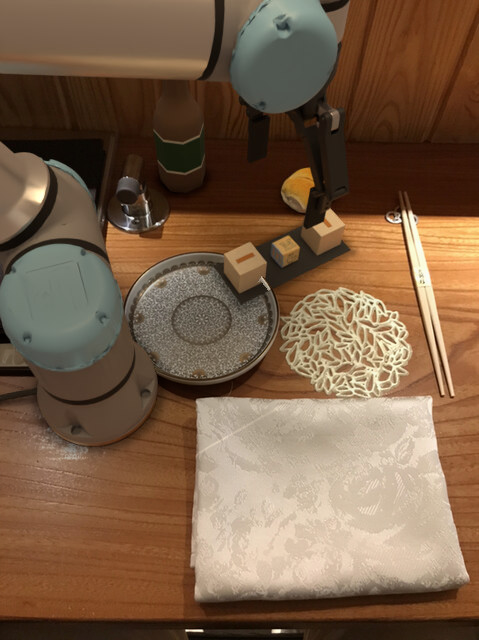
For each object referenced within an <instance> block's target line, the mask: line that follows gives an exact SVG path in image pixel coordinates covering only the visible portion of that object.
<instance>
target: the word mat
mask: <svg viewBox="0 0 479 640" xmlns="http://www.w3.org/2000/svg"><path fill="white" fill-rule="evenodd" d="M302 226H303V224H302V225H300V226H298V227H295V228H294V229H291V230H289V231H287V232H285V233H283V234H281V235H279V236H276V237H274V238H271V239H270V240H267V241H266V242H263V243H261V244H259V245H257V246H254V247H255V248H256V250H257V251H258V252H259V253H260V255H261V256H262V257H263V259H264V260H265V261H266V262H267V266H266V276H265V280H266V281H267V282H268V283H269V285H270V286H271V288H272V290H275V289H276V288H278V287H280V286H282V285H284V284H286V283H288V282H290V281H292V280H294V279H297V278H298V277H300V276H302V275H304V274H307V273H309V272H310V271H313V270H315V269H316V268H318V267H320V266H322V265H324V264H326V263H328V262H330V261H332V260H334V259H336V258H338V257H340V256H343V255H345V254H347V253H348V252H351V251H352V250H351V248H350V247H349V246H348V245H347V243H345V242H344V240H343V239H342V240H341V244H340V245H338V246H336V247H334V248H332V249H330V250H328V251H326V252H323V253H321V254H319V255H316V254H315V253H314V251H313V250H312V249H311V248H310V247H309V246H308V244H307V243H306V242H305V241H304V240H303V239H302V237H301V231H302ZM286 236H290V237H291V238H292V240H293V241H294V242H295V243H296V244H297V245H298V246H299V247H300V250H299V256H298V260H296V261H294V262H292V263H290V264H288V265H286V266H284V267H282V268H281V267H280V266H279V264H278V263H277V262H276V261H275V260H274V259H273V258H272V256H271V247H272V243H274V242H276V241H278V240H280V239H282V238H284V237H286ZM213 268H214V269H215V272H216V273H217V274H218V276H220V278H221V280H222V281H223V282H224V284H225V285H226V286H227V288H228V289H229V291H230V292H231V293H232V294H233V296H234V297H235V299H236V300H237V301H238V303H239V304H240V305H244V304H245V303H248V302H250V301H252V300H254V299H256V298H257V297H260V296H262V295H264V294H266V293H268V292H269V291H268V290H267V288H266V287H265V286H264V285H263V283H260V284H258V285H256V286H254V287H252V288H250V289H248V290H246V291H244V292H242V293H239V292H238V291H237V290H236V288H235V287H234V286H233V284H232V283H231V282H230V280H229V279H228V277H227V276H226V275H225V273H224V261H222V262H220V263H218V264H216V265H214V266H213Z"/></svg>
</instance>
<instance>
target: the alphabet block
mask: <svg viewBox="0 0 479 640" xmlns="http://www.w3.org/2000/svg"><path fill="white" fill-rule="evenodd" d="M299 250H300V247H299V246H298V245H297V244H296V243H295V242H294V241H293V240H292V238H291V237H290V236H286V237H284V238H282V239H280V240H278V241H276V242H274V243H272V247H271V256H272V258H273V259H274V260H275V261H276V262H277V263H278V264H279V266H280V267H281V268H282V267H284V266H286V265H288V264H290V263H292V262H294V261H296V260H298V256H299Z"/></svg>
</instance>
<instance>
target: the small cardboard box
mask: <svg viewBox="0 0 479 640" xmlns="http://www.w3.org/2000/svg"><path fill="white" fill-rule="evenodd" d="M255 247H256V246H254V245H253V243H252V242H251V241H248V242H246V243H244V244H242V245H240V246H238V247H235V248H233V249H231V250H229V251H227V252H225V253H223V262H224V273H225V275H226V276H227V277H228V279H229V280H230V282H231V283H232V284H233V286H234V287H235V288H236V290H237V291H238V292H239V293H242V292H244V291H246V290H248V289H250V288H252V287H254V286H256V285H258V284H260V283H262V282H261V281H260V282H258V281H259V279H260V278H261V276H262V277H264V278H265V276H266V266H267V262H266V261H265V260H264V259H263V257H262V256H261V255H260V253H259V252H258V251H257V250H256V248H255ZM257 282H258V283H257Z"/></svg>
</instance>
